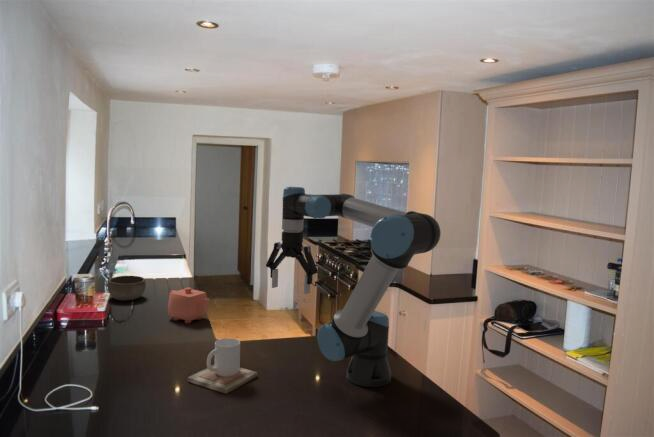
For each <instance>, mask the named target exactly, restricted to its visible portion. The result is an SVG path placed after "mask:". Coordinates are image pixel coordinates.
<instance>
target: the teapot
mask: <svg viewBox="0 0 654 437" xmlns="http://www.w3.org/2000/svg"><path fill="white" fill-rule="evenodd" d="M168 298H169V299H168V305H167V312H168V316H169V317H172V318H173V321H180V320H183V321H184V323H185V324H191V323H192V321H194V320H202V319H203V317H205V316H207V315H208V311H209V308H208V304H209V301H210V298H208V296H207V293H206V291H201V290H197V289H193V288H192V287H185V288H183V289H180V290H170V291H169V297H168Z"/></svg>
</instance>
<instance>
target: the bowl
mask: <svg viewBox="0 0 654 437" xmlns="http://www.w3.org/2000/svg"><path fill="white" fill-rule="evenodd" d="M146 284H147V283H146V278H144V277H142V276H138V275H120V276H115V277H111V278H109V279H108V282H107V288H108V293H109V294H110V296H111V297H112V298H113V299H115V300H118V301H123V302H125V301H127V302H128V301H133V300H137V299H139V298H140V297H142V295H143V294H144V292H145V291H146Z"/></svg>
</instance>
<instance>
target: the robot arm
mask: <svg viewBox="0 0 654 437" xmlns="http://www.w3.org/2000/svg"><path fill="white" fill-rule="evenodd" d="M305 217H308V218H312V219H325V218H326V217H341V218H344V219H347V220H350V221H354V222H356V223H359V224H362V225H365V226H369V227H372V229H371V232H370V238H371V240H370V245H371V247H370V251H371V255H372V256H371V258H370V259H369V261H368V263H367V265H366V267H365V269H364V270H363V272H362V273H361V276H360V278H359V280H358V281H357V282H356V284H355V286H354V289H353V290H352V292H351V294H350V295H349V298H348V299H347V301H346V303H345V305H344V307H343V309H339V310H337V311H336V312H334V315H333V317H332V318H331V321H329V323H324V324H322V325H321V326H320V327H319V328H318V330H317V335H316V336H317V337H316V339H317V343H318V344H317V345H318V347H319V349H320V352H321V353H322V355H323V356H324V357H325V358H326V359H328V360H329V361H333V362H336V361H342V360H344V359H348V358H351V359H350V361H349V363H348V366H347V368H346V375H345V376H346V379H347V381H348V382H350V383H352V384H354V385H356V386H360V387H365V388H379V387H384V386H386V385H389V383H391V381H392V371H391V368H390V365H389V360H388V346H389V345H388V344H389V329H390V322H389V321H390V319H389V317H388V316H387V314H385V313H384V312H380V311H378V310H376V309H377V307H378V306H379V303H380V302H381V300H382V299H383V297H384V295H385V294H386V292H387V290H388V289H389V287H390V285H391V283H392V281H393V280H394V279H395V276H396V275H397V273H398V271H400V270H405V269H406V268H407V267H408V265H409V263H410V261H411V260H412V258H413V257H414V256H415V255H419V254H426V253H427V252H430V251H432V250H433V249H435V247H436V246H437V245H438V243H439V242H440V239H441V227H440V225H439V223H438V221H437V220H436V218H434V217H433V216H431V215H430V214H427V213H422V212H417V211H413V210H410V211H407V212H405V211H401V210H399V209H393V208H390V207H387V206H383V205H380V204H376V203H374V202H369V201H366V200H362V199H360V198H356V197H355V196H354V195H352V194H347V193H340V194H339V193H337V194H336V193H335V194H307V193H306V190H305V188H304V187H302V186H286V187H284V188H283V193H282V218H281V219H282V220H281V229H282V231H281V242H282V243H281V242H280V241H278V242H275V243H274V244H273V249H272V252H271V253H270V254H269V258H268V260H267V262H266V263H265V267H266V268H269V269H270V278H271V289H272V288H273V289H274V288H278V285H279V268H278V266H279V265H280V264H282V262H283V261H284V259H285V258H294V259H295V260H297V261H298V263H299V264H300V266H301V267H302V269H303V270H304V272H305V275H304V282H303V283H304V288H303V289H304V291H303V294H304V295H307V294H310V292H311V285H312V284H313V277H314V276H313V275H315V274H318V272H319V271H318V269H317V265H316V262H315V260H314V258H313V255H312V250H311V248H312V247H311V246H310V245H308V246H304V245H303V243H304V242H303V241H304V232H303V231H304V225H305V224H304V220H305ZM280 250H282V251H281V252H280ZM279 252H280V253H279ZM303 253H304V254H303ZM278 254H279V255H278ZM277 256H278V257H277Z"/></svg>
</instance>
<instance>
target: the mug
mask: <svg viewBox="0 0 654 437" xmlns="http://www.w3.org/2000/svg"><path fill="white" fill-rule="evenodd" d="M213 356H214V364H213V365H214V367H212V366H213V365H212V364H211V363H212V359H213ZM240 363H241V341H240V340H239V339H236V338H230V337H229V338H228V337H227V338H220V339H217V340H215V342H214V349H212V350H211V351H210V352H209V353H208V355H207V358H206V368H208V369H209V370H210V371H213V372H215V373H216V374H217V375H218V376H222V377H231V376H234V375H236V374H238V373H239V370H240V368H241V367H240V366H241V364H240Z"/></svg>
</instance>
